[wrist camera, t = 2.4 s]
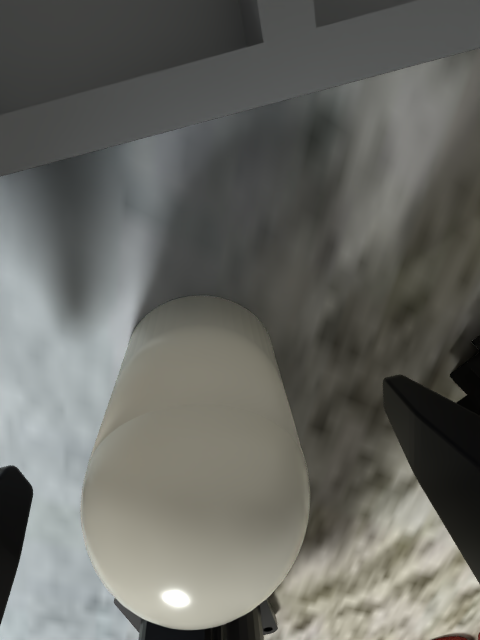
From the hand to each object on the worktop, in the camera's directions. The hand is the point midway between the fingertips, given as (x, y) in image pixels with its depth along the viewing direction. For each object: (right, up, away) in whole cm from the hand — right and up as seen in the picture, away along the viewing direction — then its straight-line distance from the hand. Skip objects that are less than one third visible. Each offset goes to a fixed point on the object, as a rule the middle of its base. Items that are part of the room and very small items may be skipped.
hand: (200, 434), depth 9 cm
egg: (0, +2, +2) cm, 3 cm away
